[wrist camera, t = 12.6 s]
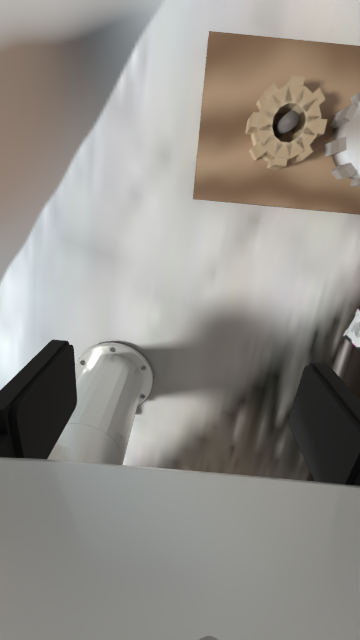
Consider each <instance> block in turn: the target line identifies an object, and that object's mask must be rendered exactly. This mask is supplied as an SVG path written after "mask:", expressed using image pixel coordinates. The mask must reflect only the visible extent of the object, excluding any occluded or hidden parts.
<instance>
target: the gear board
mask: <svg viewBox="0 0 360 640" xmlns="http://www.w3.org/2000/svg"><path fill="white" fill-rule="evenodd" d="M292 76H300V77H305V79H304V84H303V86H306V87H307V88H308V89H309V90H310V91H311V92H312V93H314V92H315V91H316V90H317V89H318V88H319V87H320V89H321V91H322V93H323V95H324V97H325V100H324V101H323V102H322V103H321V104H320V105H319V107H320V112H321V119H327V124H326V128H325V132H324V134H323V135H321V136H319V137H317V138H316V139H314V140H313V142H312V143H311V144H310V147H311V149H312V150H313V152H312V153H311V154H310V155H308V156H307V157H306V158H305V159H304V160H302V161H299V162H297V163H294V164H292V163H291V161H290V160H289V159H288V160H287V164H286V166H285V167H282V168H280V169H268V168H267V165H268V162H267V161H265V160H264V159H263V158H261V157H259V158H258V159H256V160H255V161H254V159H253V158H252V156H251V154H250V153H249V150H250V149H251V148H252V147H254V146H253V143H252V139H251V135H249V134H245V132H246V126H247V121H248V119H249V118H250V116H251V115H252V113H253V112H259V108H258V106H257V105H256V103H257V102H258V100H259V99H260V97H261V96H262V94H263V93H264V92H265V91H266V90H267V89H268V88H269V87H270V86H271V85H272V84H273V83H275V85H276V87H277V89H278V90H279V89H280V88H282V87H284V85H285V84H286V83H287V82H288V80H289V79H290V78H291V77H292ZM298 121H299V116H298V114H297V112H295V111H289V112H288V113H278V114H276V115H274V118H273V124H272V129H273V132H274V136H275V137H276V138H277V139H278V140H280V141H281V142H290V141H291V139H292V138H293V135H294V131H295V126H296V125H297V123H298ZM193 199H199V200H209V201H220V202H231V203H242V204H252V205H263V206H274V207H285V208H295V209H306V210H317V211H328V212H338V213H349V214H360V46H354V45H344V44H334V43H324V42H313V41H303V40H293V39H283V38H273V37H263V36H253V35H242V34H232V33H222V32H212V31H209V37H208V46H207V57H206V67H205V78H204V88H203V99H202V109H201V120H200V131H199V141H198V152H197V162H196V173H195V183H194V194H193Z"/></svg>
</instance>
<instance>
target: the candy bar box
mask: <svg viewBox="0 0 360 640" xmlns="http://www.w3.org/2000/svg"><path fill="white" fill-rule="evenodd" d="M343 337H345V338H346V339H347V340H348V341H349V342H351V343H352V344H353V345H354V346H355V347H356V348H358V349H359V350H360V309H357V310H356V312H355V314H354V316H353V318H352V320H351V321H350V323H349V325H348V327H347V328H346V330H345V332H344V334H343Z"/></svg>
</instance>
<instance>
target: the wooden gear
mask: <svg viewBox="0 0 360 640" xmlns="http://www.w3.org/2000/svg"><path fill="white" fill-rule="evenodd" d="M304 79H305V77H300V76H292V77H291V78H290V79H289V80H288V82H287V83H286V84H285V85H284V87H282V88H280V89H279V90H278V89H277V87H276V85H275V83H273V84H272V85H271V86H270V87H269V88H268V89H267V90H266V91H265V92H264V93H263V94H262V96H261V97H260V99H259V100H258V102H257V103H256V105H257V106H258V108H259V112H253V113H252V115H251V116H250V118H249V119H248V121H247V126H246V132H245V134H249V135H251V139H252V143H253V146H254V147H252V148H251V149H250V150H249V153H250V154H251V156H252V158H253V159H254V161H255V160H256V159H258V158H259V157H261V158H263V159H264V160H265V161H267V162H268V165H267V168H268V169H280V168H282V167H285V166H286V164H287V160H288V159H289V160H290V161H291V163H292V164H294V163H297V162H299V161H302V160H304V159H305V158H306V157H307V156H308V155H310V154H311V153H312V152H313V150H312V149H311V147H310V144H311V143H312V142H313V140H314V139H316V138H317V137H319V136H321V135H323V134H324V132H325V128H326V124H327V119H321V112H320V107H319V105H320V104H321V103H322V102H323V101H324V100H325V97H324V95H323V93H322V91H321V89H320V87H319V88H318V89H317V90H316V91H315V92H314V93H312V92H311V91H310V90H309V89H308V88H307V87H306V86H303V84H304ZM289 111H295V112H297V114H298V116H299V121H298V123H297V125H296V126H295V131H294V135H293V138H292V139H291V141H290V142H281V141H280V140H278V139H277V138H276V137H275V136H274V132H273V129H272V124H273V118H274V115H276V114H278V113H288V112H289Z"/></svg>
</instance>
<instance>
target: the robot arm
mask: <svg viewBox="0 0 360 640" xmlns="http://www.w3.org/2000/svg"><path fill="white" fill-rule="evenodd" d="M113 347H114V348H113ZM152 384H153V373H152V369H151V367H150V364H149V363H148V361H147V360H146V359H145V357H144V356H143V355H142V354H141V353H139V352H138V351H137V350H135V349H133V348H131V347H129V346H127V345H124V344H120V343H113V342H110V343H101V344H97V345H95V346H92V347H90V348H89V349H88V350H86V351H85V352H84V353H83V354H82V355H81V357H80V358H79V360H78V361H77V364H76V366H75V361H74V348H73V346H72V345H69V342H68V341H61V340H52V341H50V342H49V343H48V344H47V345H46V346H45V347H44V348H43V349H42V350H41V351H40V352H39V353H38V354H37V355H36V356H35V357H34V358H33V359H32V360H31V361H30V362H29V363H28V364H27V365H26V366H25V367H24V368H23V369H22V370H21V371H20V372H19V373H18V374H17V375H16V376H15V377H14V378H13V379H12V380H11V381H10V382H9V383H8V384H6V385H5V386H4V387H3V388H2V389H1V390H0V640H360V400H359V399H358V398H357V397H356V396H355V394H354V393H353V392H352V391H351V390H350V389H349V388H348V387H347V385H346V384H345V383H344V382H343V381H342V380H341V379H340V378H339V376H338V375H337V374H336V373H335V372H334V371H333V370H332V369H331V367H330V366H329V365H328V364H323V363H310V364H309V366H306V367H305V368H304V371H303V374H302V378H301V381H300V384H299V387H298V391H297V394H296V397H295V400H294V404H293V407H292V410H291V413H290V417H289V426H290V429H291V431H292V433H293V435H294V437H295V439H296V442H297V444H298V446H299V448H300V450H301V452H302V454H303V457H304V459H305V461H306V463H307V465H308V467H309V470H310V472H311V474H312V476H313V478H314V480H315V482H313V481H301V480H290V479H279V478H268V477H257V476H246V475H234V474H223V473H211V472H199V471H187V470H175V469H163V468H151V467H138V466H125V465H122V464H123V461H124V457H125V453H126V449H127V445H128V441H129V437H130V433H131V429H132V425H133V421H134V417H135V413H136V409H137V406H138V405H140V404H141V403H142V402H143V401H144V400H146V398H147V397H148V395H149V394H150V391H151V389H152Z"/></svg>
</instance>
